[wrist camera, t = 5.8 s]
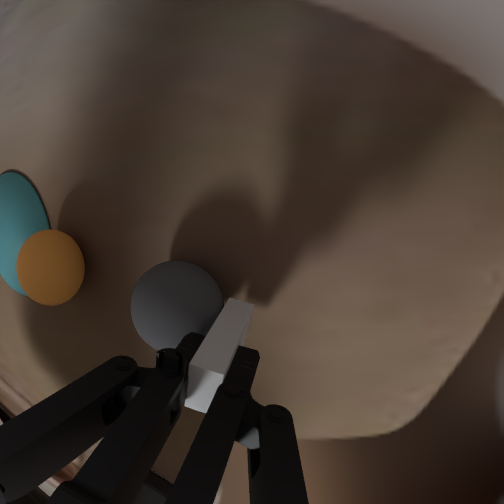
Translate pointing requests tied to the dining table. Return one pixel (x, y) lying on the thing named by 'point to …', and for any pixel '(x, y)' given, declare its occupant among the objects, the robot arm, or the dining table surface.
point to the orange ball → (50, 267)
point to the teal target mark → (17, 222)
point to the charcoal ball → (174, 303)
